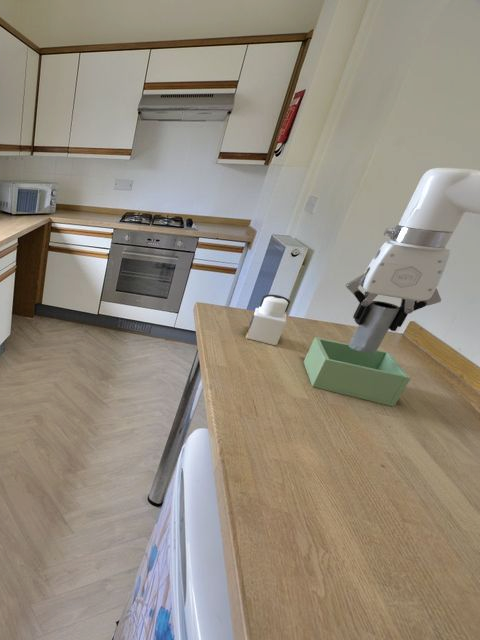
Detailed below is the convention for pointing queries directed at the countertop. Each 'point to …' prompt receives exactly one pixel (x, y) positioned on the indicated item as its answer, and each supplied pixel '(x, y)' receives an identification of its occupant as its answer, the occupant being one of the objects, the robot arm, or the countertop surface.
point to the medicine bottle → (268, 320)
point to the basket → (355, 372)
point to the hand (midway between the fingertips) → (374, 324)
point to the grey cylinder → (374, 327)
